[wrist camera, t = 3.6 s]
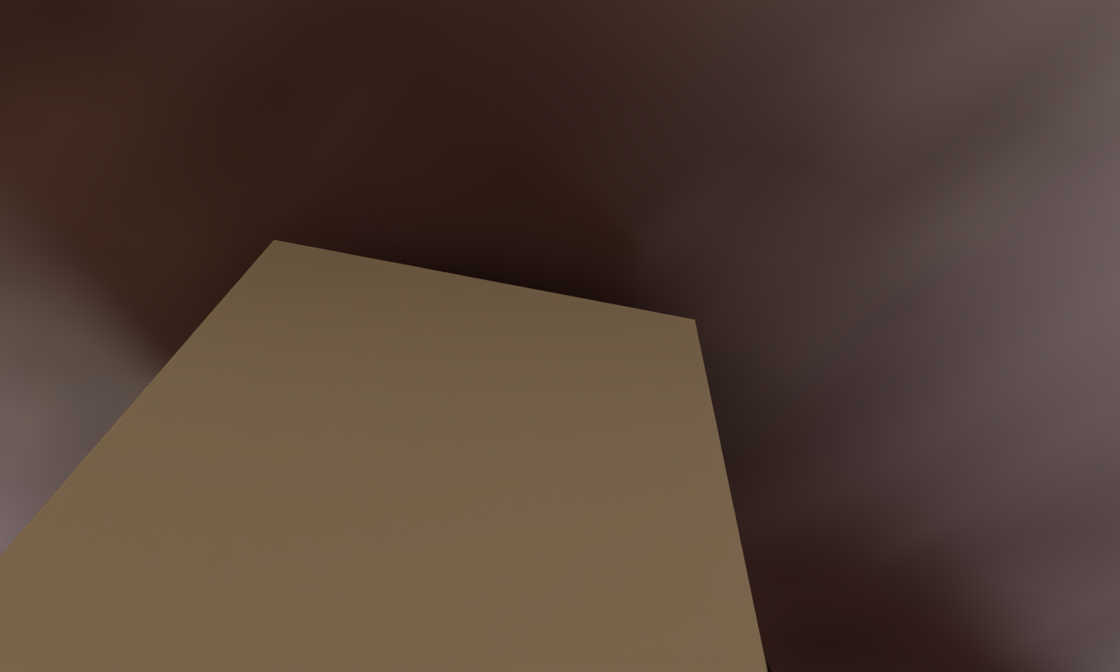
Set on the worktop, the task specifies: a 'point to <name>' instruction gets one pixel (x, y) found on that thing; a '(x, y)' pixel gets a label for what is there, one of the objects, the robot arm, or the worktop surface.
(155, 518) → the beige block
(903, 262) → the worktop surface
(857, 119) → the worktop surface
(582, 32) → the worktop surface
